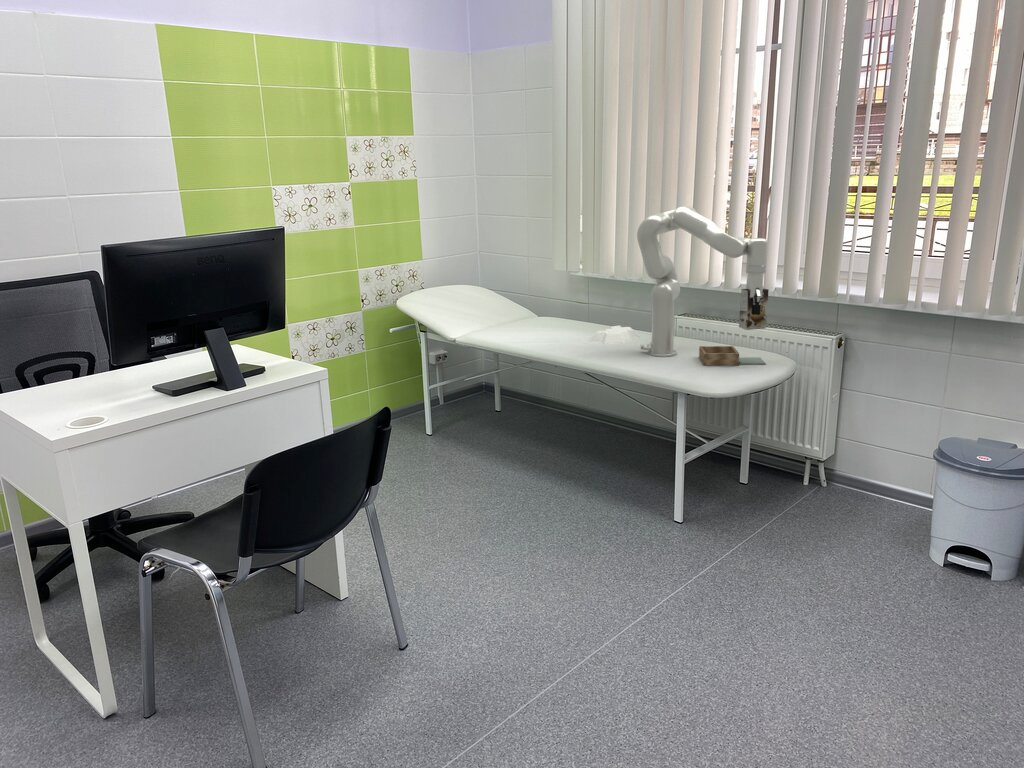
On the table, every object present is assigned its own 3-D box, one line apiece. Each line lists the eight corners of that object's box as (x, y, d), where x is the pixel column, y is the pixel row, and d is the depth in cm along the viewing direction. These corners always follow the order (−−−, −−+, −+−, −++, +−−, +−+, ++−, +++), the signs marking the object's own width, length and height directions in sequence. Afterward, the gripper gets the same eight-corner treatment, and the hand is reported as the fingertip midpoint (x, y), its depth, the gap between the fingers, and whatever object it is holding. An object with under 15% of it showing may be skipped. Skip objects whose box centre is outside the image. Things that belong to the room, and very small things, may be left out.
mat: (740, 364, 309) (740, 363, 309) (735, 358, 319) (736, 357, 319) (765, 364, 308) (765, 363, 308) (760, 358, 318) (760, 357, 318)
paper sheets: (614, 351, 342) (614, 339, 341) (578, 345, 354) (578, 334, 353) (651, 337, 369) (652, 326, 367) (616, 332, 380) (616, 322, 379)
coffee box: (747, 330, 306) (749, 290, 301) (738, 327, 312) (740, 288, 307) (766, 328, 308) (769, 289, 304) (758, 325, 314) (760, 287, 310)
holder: (703, 365, 310) (704, 353, 308) (698, 357, 323) (699, 346, 322) (738, 365, 308) (739, 353, 307) (732, 357, 322) (733, 346, 320)
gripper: (742, 267, 312) (740, 309, 317) (750, 272, 296) (748, 316, 300) (760, 266, 311) (758, 308, 316) (770, 272, 295) (767, 316, 299)
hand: (753, 312), depth 308 cm, fingers closed on coffee box, 8 cm apart
